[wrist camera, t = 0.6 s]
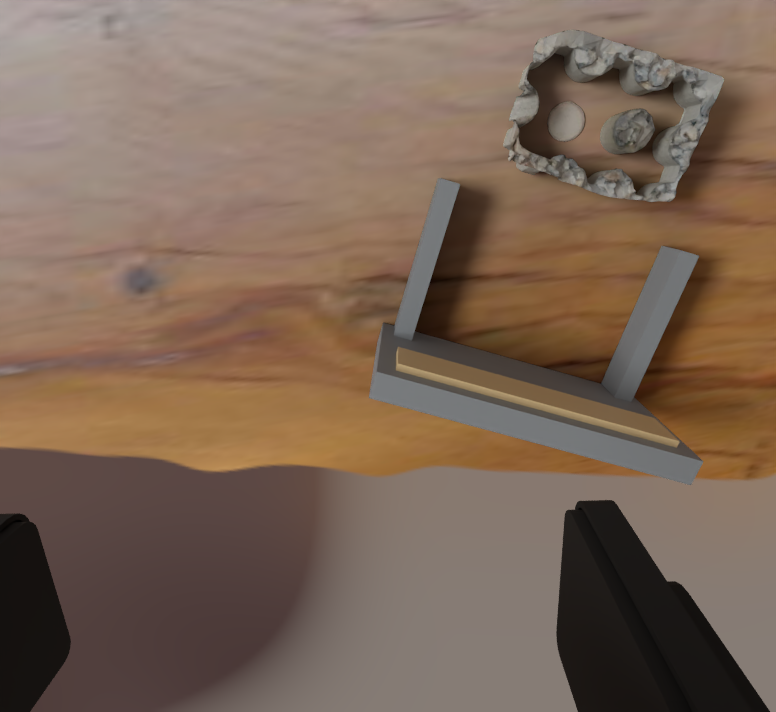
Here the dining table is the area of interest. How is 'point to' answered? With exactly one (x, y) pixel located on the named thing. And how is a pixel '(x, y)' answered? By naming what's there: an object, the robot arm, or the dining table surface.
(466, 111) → the dining table surface
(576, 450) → the display stand
